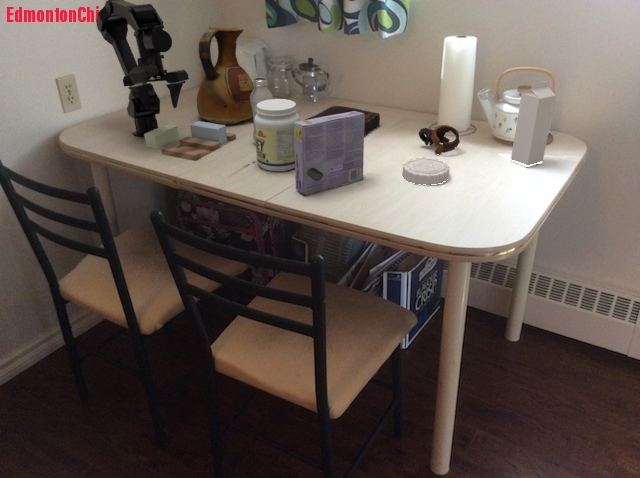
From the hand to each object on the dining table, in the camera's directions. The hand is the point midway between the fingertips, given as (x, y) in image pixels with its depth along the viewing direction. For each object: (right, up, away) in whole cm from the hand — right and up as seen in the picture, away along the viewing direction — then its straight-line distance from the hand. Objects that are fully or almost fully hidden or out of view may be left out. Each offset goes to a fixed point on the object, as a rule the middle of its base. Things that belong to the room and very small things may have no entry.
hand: (161, 108), depth 166 cm
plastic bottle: (+29, -11, +4) cm, 32 cm away
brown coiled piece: (+80, -12, +1) cm, 81 cm away
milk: (+103, -17, -9) cm, 105 cm away
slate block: (+13, -8, +6) cm, 16 cm away
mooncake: (+74, -22, -16) cm, 79 cm away
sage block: (-1, -10, +7) cm, 12 cm away
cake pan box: (+49, -24, -20) cm, 58 cm away
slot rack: (+11, -11, +3) cm, 16 cm away
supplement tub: (+35, -17, -8) cm, 40 cm away
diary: (+51, -5, +15) cm, 54 cm away
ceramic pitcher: (+15, +2, +26) cm, 30 cm away
